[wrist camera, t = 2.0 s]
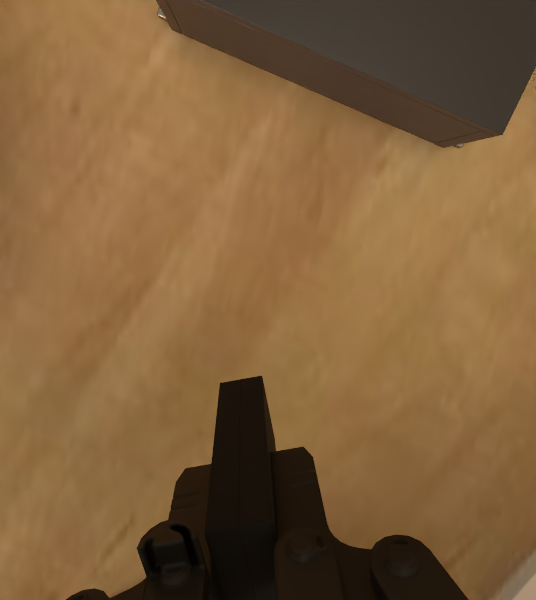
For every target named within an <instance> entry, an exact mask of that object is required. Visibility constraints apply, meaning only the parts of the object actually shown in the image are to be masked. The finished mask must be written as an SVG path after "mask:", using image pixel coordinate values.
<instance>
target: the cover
mask: <svg viewBox="0 0 536 600" xmlns="http://www.w3.org/2000/svg"><path fill="white" fill-rule="evenodd" d="M156 1H157V3H158V5H159V7H160V8H161V10H162V12H163V14H164V16H165V18H166V19H167V21H168V23H169V25H170V27H171V29H172V30H174V31H177V32H179V33H181V34H184V35H186V36H188V37H190V38H193V39H195V40H197V41H200V42H202V43H204V44H207V45H209V46H211V47H213V48H216V49H218V50H220V51H223V52H225V53H227V54H230V55H232V56H234V57H237V58H239V59H241V60H243V61H246V62H248V63H250V64H253V65H255V66H257V67H260V68H262V69H264V70H266V71H269V72H271V73H273V74H276V75H278V76H280V77H283V78H285V79H287V80H289V81H292V82H294V83H296V84H299V85H301V86H303V87H306V88H308V89H310V90H312V91H315V92H317V93H319V94H322V95H324V96H326V97H329V98H331V99H333V100H335V101H338V102H340V103H342V104H345V105H347V106H349V107H352V108H354V109H356V110H358V111H361V112H363V113H365V114H368V115H370V116H372V117H375V118H377V119H379V120H381V121H384V122H386V123H388V124H391V125H393V126H395V127H398V128H400V129H402V130H404V131H407V132H409V133H411V134H414V135H416V136H418V137H421V138H423V139H425V140H427V141H430V142H432V143H435V144H436V145H439V146H441V147H443V148H445V147H450V146H454V145H459V144H463V143H468V142H472V141H477V140H481V139H485V138H490V137H494V136H499V135H502V134H503V133H504V131H505V129H506V126H507V124H508V122H509V120H510V118H511V116H512V114H513V112H514V110H515V108H516V106H517V104H518V102H519V100H520V98H521V95H522V93H523V91H524V89H525V87H526V85H527V83H528V81H529V79H530V77H531V75H532V73H533V71H534V69H535V67H536V0H156Z"/></svg>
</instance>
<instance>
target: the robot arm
mask: <svg viewBox="0 0 536 600" xmlns="http://www.w3.org/2000/svg"><path fill="white" fill-rule="evenodd" d="M137 550H138V553H139V556H140V559H141V561H142V564H143V567H144V570H145V573H146V576H147V577H146V579H144V580H143V581H142V582H141V583H139V584H138V585H136V586H134V587H132V588H131V589H129V590H126V591H124V592H122V593H120V594H118V595H116V596H114V597H112V598H109V597H108V596H107V595H106V594H105V592H104V591H101V590H98V589H88V590H82V591H80V592H78V593H76V594H74V595H72V596H70V597H69V598H68V599H66V600H468V598H467V597H466V596H465V595H464V593H463V592H462V591H461V589H460V588H459V587H458V586H457V584H456V583H455V582H454V580H453V579H452V578H451V577H450V575H449V574H448V573H447V571H446V570H445V569H444V568H443V566H442V565H441V564H440V562H439V561H438V560H437V559H436V557H435V556H434V555H433V553H432V552H431V551H430V549H428V548H427V547H426V546H425V545H424V544H423V543H422V542H421V541H419V540H417V539H414V538H412V537H410V536H404V535H392V536H387V537H384V538H383V539H381V540H380V541H378V542H376V543H375V545H374V546H373V548H372V549H363V548H356V547H352V546H348V545H346V544H344V543H342V542H340V541H339V540H338V539H337V538H335V537H334V536H333V534H332V533H331V532H330V530H329V527H328V525H327V521H326V516H325V511H324V507H323V502H322V497H321V493H320V488H319V484H318V479H317V474H316V470H315V465H314V460H313V457H312V456H311V454H310V453H309V452H308V451H307V450H306V449H305V448H304V447H299V448H293V449H287V450H282V451H276V447H275V439H274V434H273V429H272V424H271V419H270V414H269V408H268V403H267V398H266V393H265V388H264V383H263V378H262V376H258V377H252V378H246V379H241V380H235V381H229V382H224V383H220V389H219V398H218V408H217V417H216V427H215V436H214V446H213V455H212V464H208V465H203V466H197V467H191V468H186V469H185V470H184V471H183V473H182V474H181V476H180V477H179V479H178V480H177V481H176V485H175V490H174V495H173V500H172V504H171V511H170V514H169V519H168V520H167V521H164V522H161V523H159V524H157V525H156V526H154V527H153V528H151V529H150V530H149V531H148V532H147V533H146V534H145V535H144V536H143V537H142V538H141V540H140V543H139V545H138V547H137Z"/></svg>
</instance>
